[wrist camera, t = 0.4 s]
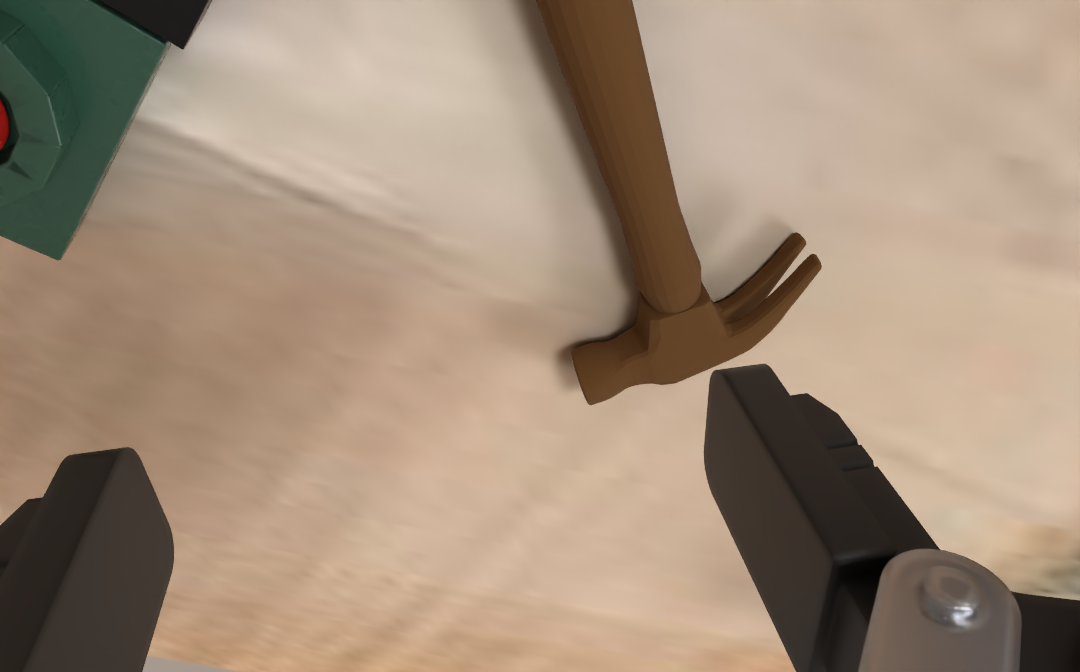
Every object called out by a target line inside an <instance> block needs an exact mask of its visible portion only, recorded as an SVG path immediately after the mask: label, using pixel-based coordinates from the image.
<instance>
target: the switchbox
mask: <svg viewBox="0 0 1080 672" xmlns="http://www.w3.org/2000/svg"><path fill="white" fill-rule="evenodd" d="M170 45H171V42H169V41H167V40H166V39H164V38H162V37H160V36H159V35H157V34H155V33H154V32H152V31H150V30H149V29H147V28H145V27H143V26H142V25H140V24H138V23H137V22H135V21H133V20H132V19H130V18H128V17H126V16H125V15H123V14H121V13H120V12H118V11H116V10H114V9H113V8H111V7H109V6H108V5H106V4H104V3H103V2H101V1H99V0H0V99H1V101H2V103H3V105H4V107H5V109H6V112H7V115H8V120H9V135H8V139H7V142H6V143H5V145H4V147H3V148H2V149H1V151H0V236H2V237H4V238H7V239H9V240H11V241H14V242H16V243H18V244H21V245H23V246H25V247H28V248H30V249H32V250H35V251H37V252H39V253H42V254H44V255H46V256H49V257H51V258H53V259H56V260H61V258H62V257H63V255H64V253H65V252H66V250H67V248H68V247H69V245H70V243H71V242H72V240H73V238H74V237H75V235H76V233H77V232H78V230H79V228H80V226H81V224H82V222H83V220H84V218H85V216H86V214H87V212H88V210H89V208H90V206H91V204H92V202H93V200H94V198H95V196H96V194H97V192H98V190H99V188H100V186H101V184H102V182H103V180H104V178H105V176H106V174H107V172H108V170H109V168H110V166H111V164H112V162H113V160H114V158H115V156H116V154H117V152H118V149H119V147H120V145H121V143H122V141H123V139H124V137H125V135H126V133H127V131H128V129H129V127H130V125H131V123H132V121H133V119H134V117H135V115H136V113H137V111H138V109H139V107H140V105H141V103H142V101H143V99H144V97H145V95H146V93H147V91H148V89H149V87H150V85H151V83H152V81H153V79H154V77H155V75H156V73H157V71H158V69H159V67H160V65H161V63H162V61H163V59H164V57H165V55H166V53H167V51H168V49H169V47H170Z"/></svg>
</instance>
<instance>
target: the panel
mask: <svg viewBox="0 0 1080 672" xmlns="http://www.w3.org/2000/svg"><path fill="white" fill-rule="evenodd" d="M99 1H101V2H103V3H104V4H106V5H108V6H109V7H111V8H113V9H114V10H116V11H118V12H120V13H121V14H123V15H125V16H126V17H128V18H130V19H132V20H133V21H135V22H137V23H138V24H140V25H142V26H143V27H145V28H147V29H149V30H150V31H152V32H154V33H155V34H157V35H159V36H160V37H162V38H164V39H166V40H167V41H169V42H171V43H172V44H174V45H176V46H177V47H179V48H181V49H184V48H185V47H186V45H187V43H188V42H189V40H190V38H191V37H192V35H193V33H194V32H195V30H196V29H197V27H198V25H199V24H200V22H201V20H202V19H203V17H204V15H205V13H206V11H207V9H208V7H209V5H210V3H211V1H212V0H99Z"/></svg>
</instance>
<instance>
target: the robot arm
mask: <svg viewBox="0 0 1080 672" xmlns="http://www.w3.org/2000/svg"><path fill="white" fill-rule="evenodd" d="M704 464H705V471H706V476H707V480H708V484H709V487H710V490H711V492H712V495H713V497H714V499H715V501H716V503H717V505H718V507H719V510H720V512H721V514H722V516H723V518H724V520H725V522H726V524H727V526H728V529H729V531H730V533H731V535H732V537H733V539H734V541H735V543H736V545H737V548H738V550H739V552H740V554H741V556H742V558H743V560H744V562H745V564H746V567H747V569H748V571H749V573H750V575H751V577H752V579H753V581H754V583H755V586H756V588H757V590H758V592H759V594H760V596H761V598H762V600H763V602H764V605H765V607H766V609H767V611H768V613H769V615H770V617H771V619H772V621H773V624H774V626H775V628H776V630H777V632H778V634H779V636H780V638H781V641H782V643H783V645H784V647H785V649H786V651H787V653H788V655H789V657H790V660H791V662H792V664H793V666H794V668H795V670H796V672H1080V601H1079V600H1070V599H1062V598H1053V597H1045V596H1036V595H1028V594H1022V593H1016V592H1012V591H1010V590H1009V589H1008V587H1007V586H1006V585H1005V584H1004V583H1003V582H1002V581H1001V580H1000V579H999V578H998V577H997V576H996V575H994V574H993V573H992V572H991V571H989V570H988V569H986V568H985V567H983V566H982V565H980V564H978V563H977V562H974V561H972V560H970V559H968V558H966V557H964V556H961V555H958V554H955V553H952V552H948V551H944V550H940V549H939V548H938V546H937V545H936V544H935V542H934V541H933V540H932V538H931V537H930V536H929V534H928V533H927V532H926V530H925V529H924V528H923V526H922V525H921V524H920V522H919V521H918V520H917V518H916V517H915V516H914V514H913V513H912V512H911V510H910V509H909V508H908V507H907V505H906V504H905V503H904V501H903V500H902V499H901V497H900V496H899V495H898V493H897V492H896V491H895V489H894V488H893V487H892V485H891V484H890V483H889V481H888V480H887V479H886V477H885V476H884V475H883V473H882V472H881V471H880V469H879V468H878V467H874V465H873V460H872V459H871V457H870V456H869V455H868V453H867V452H866V451H865V449H864V448H863V447H862V445H858V443H857V439H856V437H855V436H854V435H853V433H852V432H851V431H850V429H849V428H848V427H847V425H846V424H845V423H844V421H843V420H842V419H841V417H840V416H839V415H838V414H837V413H836V412H834V411H833V410H831V409H830V408H828V407H827V406H825V405H824V404H822V403H821V402H819V401H818V400H816V399H815V398H813V397H812V396H810V395H809V394H807V393H805V394H798V395H791V396H790V395H789V393H788V392H787V390H786V389H785V387H784V386H783V385H782V383H781V382H780V380H779V379H778V377H777V376H776V374H775V373H774V372H773V370H772V369H771V368H770V367H769V366H768V365H766V364H758V365H750V366H743V367H735V368H728V369H720V370H715V371H713V373H712V375H711V378H710V384H709V395H708V407H707V419H706V431H705V443H704ZM173 563H174V544H173V537H172V532H171V528H170V526H169V523H168V521H167V518H166V516H165V514H164V512H163V509H162V507H161V505H160V502H159V500H158V498H157V496H156V493H155V491H154V489H153V486H152V484H151V482H150V480H149V477H148V475H147V473H146V470H145V468H144V466H143V464H142V461H141V459H140V457H139V455H138V454H137V452H136V451H135V450H134V449H132V448H129V447H126V448H118V449H111V450H103V451H96V452H88V453H81V454H73V455H69V456H67V457H66V458H65V459H64V460H63V461H62V463H61V464H60V466H59V468H58V470H57V472H56V474H55V475H54V477H53V479H52V481H51V483H50V485H49V487H48V489H47V491H46V493H45V494H44V496H43V497H42V498H35V499H28V500H27V501H26V502H25V503H24V504H22V505H21V506H20V507H19V508H18V509H17V510H16V511H15V512H14V513H13V514H12V515H11V516H10V517H9V518H8V519H7V520H6V521H5V522H3V523H2V524H1V525H0V672H142V670H143V667H144V664H145V660H146V657H147V654H148V650H149V647H150V644H151V640H152V637H153V634H154V630H155V627H156V624H157V620H158V617H159V614H160V610H161V607H162V604H163V600H164V597H165V594H166V590H167V587H168V584H169V581H170V577H171V574H172V570H173Z"/></svg>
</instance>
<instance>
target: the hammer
mask: <svg viewBox="0 0 1080 672" xmlns="http://www.w3.org/2000/svg"><path fill="white" fill-rule="evenodd" d="M536 2H537V5H538V7H539V10H540V13H541V16H542V19H543V22H544V25H545V28H546V31H547V34H548V37H549V39H550V42H551V44H552V47H553V50H554V52H555V55H556V57H557V60H558V62H559V65H560V68H561V70H562V73H563V75H564V78H565V80H566V83H567V86H568V88H569V91H570V93H571V96H572V98H573V101H574V104H575V106H576V109H577V111H578V114H579V116H580V119H581V122H582V124H583V127H584V129H585V132H586V134H587V137H588V140H589V142H590V145H591V147H592V150H593V152H594V155H595V158H596V160H597V163H598V165H599V168H600V171H601V173H602V176H603V178H604V181H605V183H606V186H607V189H608V191H609V194H610V196H611V199H612V201H613V204H614V207H615V209H616V212H617V214H618V217H619V219H620V222H621V225H622V228H623V232H624V235H625V239H626V243H627V246H628V250H629V254H630V257H631V261H632V265H633V270H634V275H635V279H636V284H637V286H638V288H639V289H640V291H639V295H638V319H637V322H636V324H635V325H634V326H633V327H632V328H630V329H629V330H627V331H625V332H624V333H622V334H621V335H619V336H617V337H616V338H614V339H612V340H609V341H607V342H594V343H589V344H585V345H582V346H579V347H576V348H573V349H572V350H571V356H572V360H573V364H574V368H575V371H576V374H577V377H578V380H579V383H580V386H581V389H582V391H583V394H584V396H585V399H586V401H587V402H588V404H589V405H593V404H596V403H599V402H602V401H605V400H607V399H610V398H612V397H613V396H615V395H617V394H618V393H620V392H621V391H623V390H624V389H626V388H628V387H631V386H634V385H639V384H650V383H653V384H659V385H665V384H673V383H677V382H679V381H682V380H684V379H686V378H689V377H691V376H693V375H696V374H698V373H700V372H703V371H705V370H707V369H710V368H712V367H714V366H717V365H719V364H721V363H723V362H726V361H728V360H730V359H732V358H734V357H736V356H738V355H740V354H742V353H744V352H746V351H748V350H750V349H751V348H752V347H754V346H755V345H756V344H757V343H758V342H760V341H761V340H762V339H763V338H764V337H765V336H766V335H767V334H769V333H770V332H771V331H772V330H773V328H774V327H775V326H776V325H777V324H778V323H779V322H780V320H781V319H782V318H783V317H784V315H785V314H786V313H787V311H788V310H789V309H790V307H791V306H792V305H793V304H794V302H795V301H796V300H797V299H798V298H799V296H800V295H801V294H802V293H803V291H804V290H805V289H806V288H807V286H808V285H809V284H810V282H811V281H812V280H813V279H814V277H815V276H816V275H817V273H818V272H819V271H820V270H821V267H822V266H821V262H820V261H819V259H818V257H817V256H816V255H815V254H811V255H810V256H809V257H807V259H805V260H804V261H803V262H802V264H801V265H800V266H799V267H798V268H797V269H796V270H795V271H794V272H793V273H792V274H791V275H790V276H789V277H788V278H787V279H786V280H785V281H784V282H783V283H782V284H781V285H780V286H779V287H778V288H777V289H776V290H775V291H774V292H773V293H772V294H771V295H769V293H770V292H771V291H772V289H773V288H774V287H775V285H776V284H777V283H778V281H779V280H780V279H781V277H782V276H783V274H784V273H785V272H786V270H787V269H788V268H789V266H790V265H791V264H792V262H793V261H794V260H795V258H796V257H797V256H798V254H799V253H800V252H801V251H802V249H803V248H804V247H805V245H806V241H805V239H804V238H803V237H802V236H801V235H800V234H799V233H794V234H793V235H792V236H791V237H790V238H789V239H788V240H787V242H786V243H785V244H784V245H783V246H782V247H781V248H780V250H779V251H778V252H777V253H776V254H775V255H774V256H773V257H772V259H771V260H770V261H769V262H768V263H767V264H766V265H765V266H764V267H763V268H762V269H761V270H760V271H759V272H758V273H757V274H756V275H755V276H754V277H753V278H752V279H751V280H749V281H748V282H747V283H746V284H745V285H744V286H743V287H741V288H740V289H739V290H738V291H737V292H735V293H734V294H733V295H731V296H730V297H728V298H727V299H725V300H722V301H720V302H717V303H712V301H711V299H710V297H709V295H708V293H707V291H706V289H705V288H704V286H703V284H702V282H701V266H700V261H699V259H698V257H697V254H696V252H695V249H694V247H693V245H692V242H691V239H690V236H689V233H688V230H687V228H686V225H685V222H684V219H683V216H682V213H681V210H680V207H679V204H678V200H677V196H676V191H675V187H674V182H673V178H672V174H671V169H670V165H669V160H668V156H667V152H666V147H665V143H664V139H663V134H662V130H661V125H660V121H659V117H658V112H657V108H656V103H655V99H654V95H653V90H652V86H651V82H650V77H649V73H648V68H647V64H646V60H645V55H644V51H643V46H642V42H641V38H640V33H639V29H638V24H637V20H636V16H635V11H634V7H633V3H632V0H536ZM768 295H769V296H768ZM767 296H768V297H767ZM766 297H767V298H766Z"/></svg>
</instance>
